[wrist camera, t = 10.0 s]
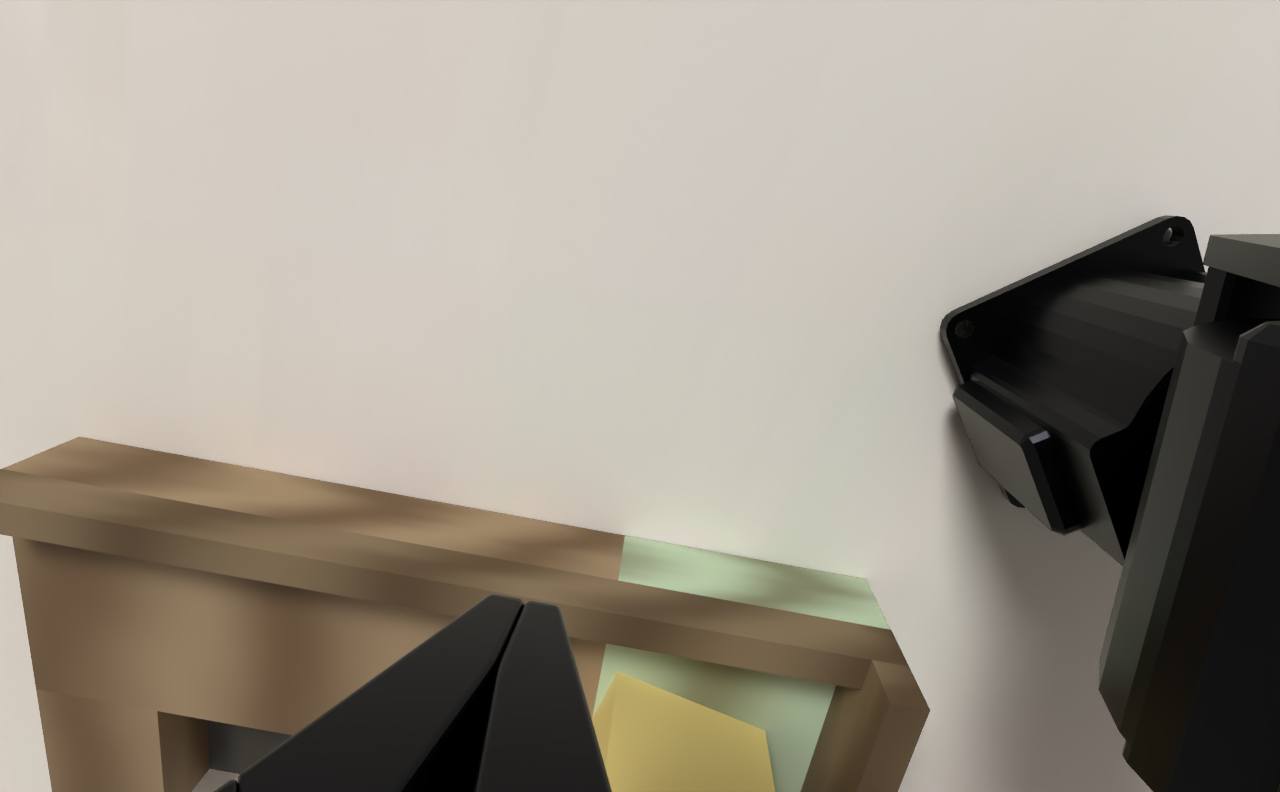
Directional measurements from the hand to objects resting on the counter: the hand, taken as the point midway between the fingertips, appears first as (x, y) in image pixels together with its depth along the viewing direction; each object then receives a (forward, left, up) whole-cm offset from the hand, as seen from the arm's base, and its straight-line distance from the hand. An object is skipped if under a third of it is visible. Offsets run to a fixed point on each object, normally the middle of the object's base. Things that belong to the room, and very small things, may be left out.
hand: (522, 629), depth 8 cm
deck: (+10, +7, -12) cm, 17 cm away
